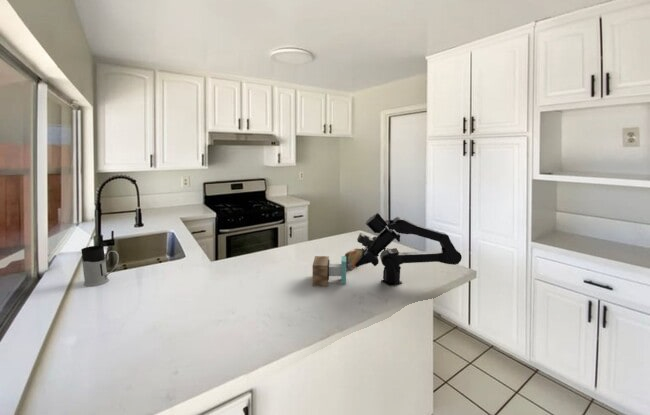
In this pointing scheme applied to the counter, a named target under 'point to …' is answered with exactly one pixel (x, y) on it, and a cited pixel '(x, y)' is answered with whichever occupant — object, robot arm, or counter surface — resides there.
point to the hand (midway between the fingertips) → (355, 265)
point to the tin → (352, 258)
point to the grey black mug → (95, 265)
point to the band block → (321, 271)
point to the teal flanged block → (339, 269)
